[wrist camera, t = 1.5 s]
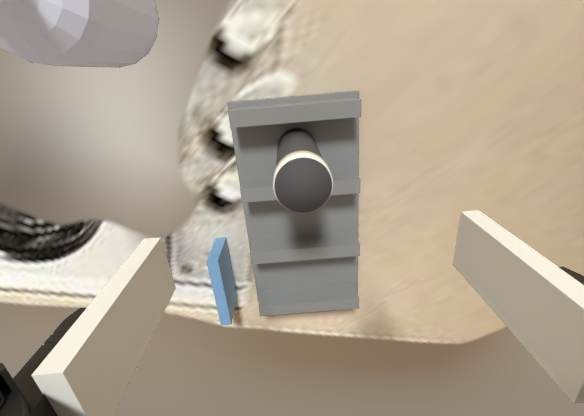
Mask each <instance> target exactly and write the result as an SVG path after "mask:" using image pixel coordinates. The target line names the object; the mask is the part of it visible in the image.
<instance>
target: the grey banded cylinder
mask: <svg viewBox="0 0 584 416" xmlns="http://www.w3.org/2000/svg"><path fill="white" fill-rule="evenodd" d="M273 190H274V194H275V196H276V198H277V200H278V201H279V203H280V204H281V205H282V206H284V207H285V208H286V209H288V210H290V211H293V212H297V213H307V212H312V211H315V210H317V209H319V208H320V207H322V206H323V205H324V204H325V203H326V202H327V201H328V199H329V198H330V196H331V193H332V190H333V178H332V175H331V172H330V170H329V168H328V166H327V164H326V162H325V161H324V160H323V158H322V155H321V153H320V151H319V149H318V146H317V144H316V142H315V140H314V138H313V136H312V135H311V134H310V133H309V132H308V131H306V130H304V129H301V128H293V129H290V130H287V131H286V132H285V133H284V134H283V135H282V136H281V137H280V139H279V142H278V149H277V161H276V169H275V172H274V180H273Z"/></svg>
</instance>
